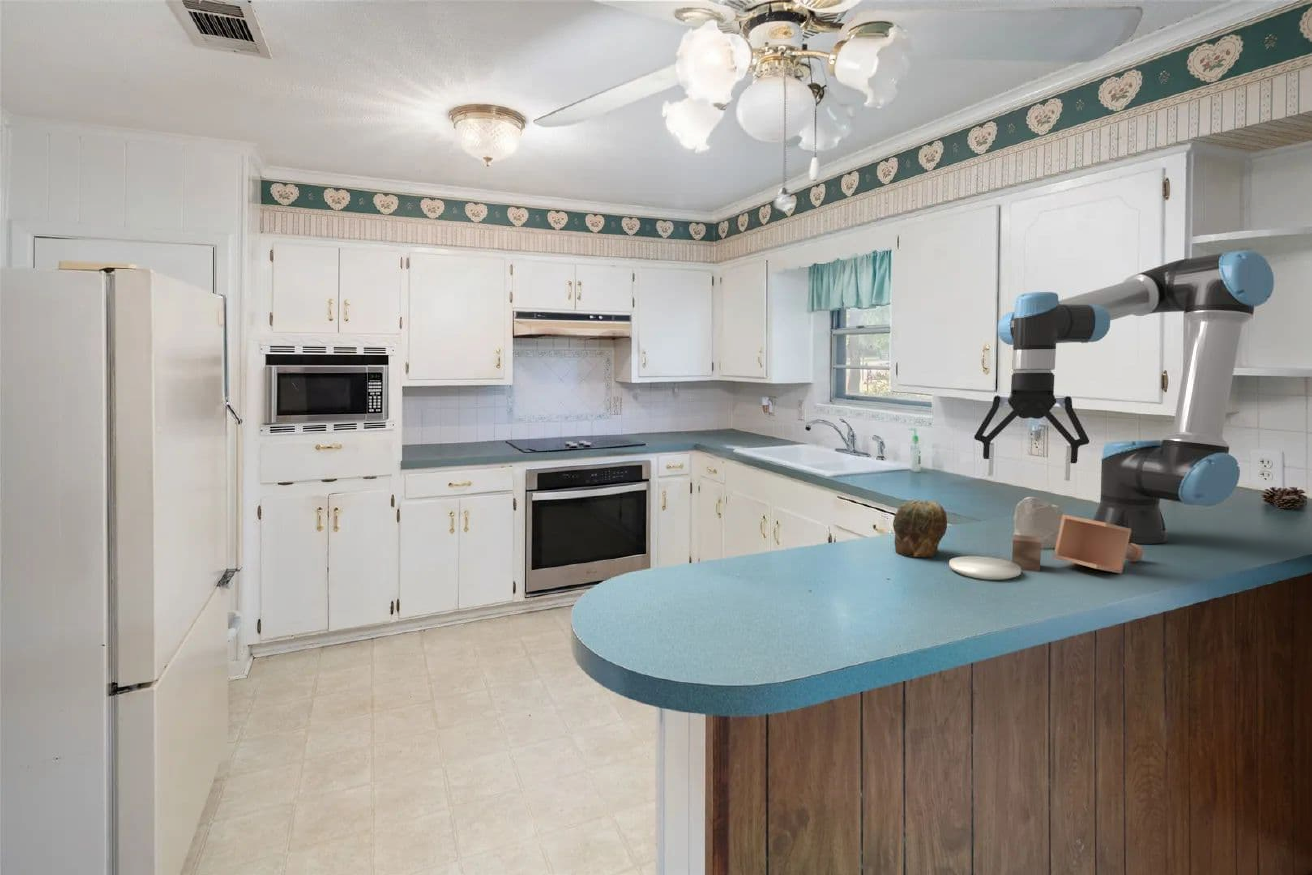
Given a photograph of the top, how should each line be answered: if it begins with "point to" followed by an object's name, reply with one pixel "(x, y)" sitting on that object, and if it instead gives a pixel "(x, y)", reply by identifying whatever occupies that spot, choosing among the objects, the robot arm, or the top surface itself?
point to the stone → (1038, 520)
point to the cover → (1095, 544)
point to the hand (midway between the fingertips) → (1027, 477)
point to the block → (1027, 552)
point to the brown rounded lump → (919, 528)
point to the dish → (985, 567)
